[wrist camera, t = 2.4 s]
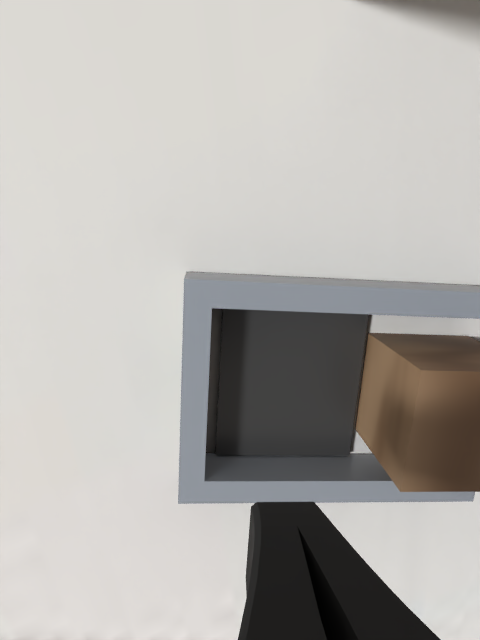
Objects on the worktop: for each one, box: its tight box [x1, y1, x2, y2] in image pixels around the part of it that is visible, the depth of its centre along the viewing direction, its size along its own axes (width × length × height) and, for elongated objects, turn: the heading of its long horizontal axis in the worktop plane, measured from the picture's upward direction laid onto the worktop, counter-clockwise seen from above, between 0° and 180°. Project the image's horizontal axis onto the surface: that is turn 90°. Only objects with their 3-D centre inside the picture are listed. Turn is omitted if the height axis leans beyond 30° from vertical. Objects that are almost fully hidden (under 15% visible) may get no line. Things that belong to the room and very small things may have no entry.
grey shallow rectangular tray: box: [178, 272, 480, 504], centre depth 17 cm, size 12×9×2 cm
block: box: [355, 333, 480, 492], centre depth 16 cm, size 4×4×4 cm
